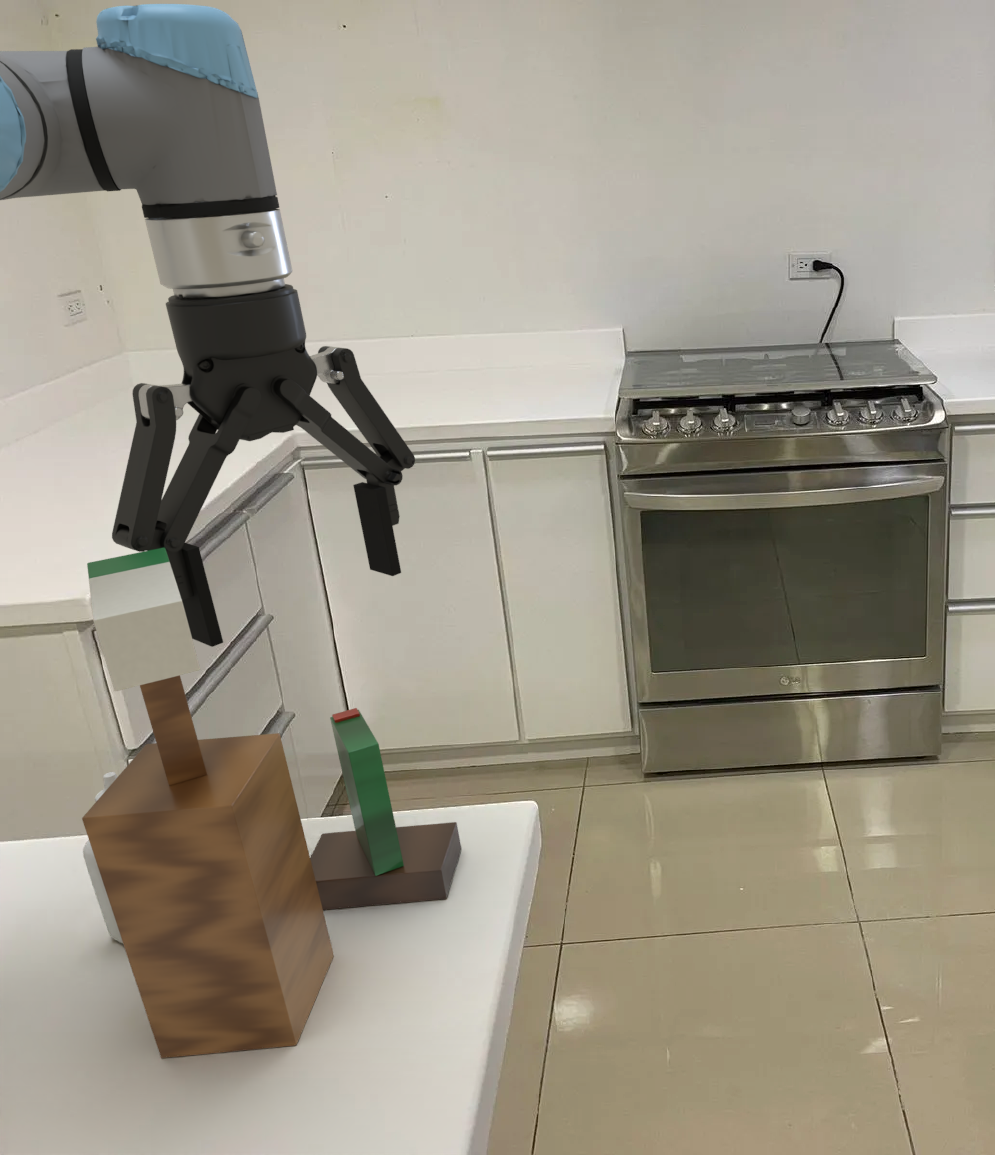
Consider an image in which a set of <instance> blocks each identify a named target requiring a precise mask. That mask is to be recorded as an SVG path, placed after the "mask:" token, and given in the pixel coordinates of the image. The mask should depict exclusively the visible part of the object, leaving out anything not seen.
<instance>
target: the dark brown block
mask: <svg viewBox="0 0 995 1155" xmlns="http://www.w3.org/2000/svg"><path fill="white" fill-rule="evenodd" d="M396 830H397V835H398V840H399V845H400V849H401V854H402V859H403V864H404V866H402V867H400V868H397V869H394V870H391V871H388V872H385V873H383V874H380V875H377V876H375V874H374V872H373V870H372V868H371V865H370V863H369V861H368V859H367V857H366V855H365V853H364V850H363V848H362V846H361V844H360V842H359V840H358V838H357V835H356V831H355V830H348V831H347V830H346V831H336V832H325V833H323V832H322V834H321V835H320V837H319V839H318V842H317V843H316V845H315V847H314V849H313V851H312V853H311V855H310V860H311V864H312V868H313V872H314V876H315V880H316V884H317V888H318V892H319V896H320V900H321V905H322V909H323V911H324V910H335V909H347V908H358V907H370V906H381V905H392V904H403V903H404V904H405V903H414V902H426V901H437V900H446V899H447V898H448V895H449V892H450V889H451V885H452V882H453V878H454V876H455V872H456V869H457V867H458V866H457V865H458V862H459V859H460V856H461V854H462V853H461V852H462V844H461V839H460V834H459V833H460V832H459V826H458V822H457V821H453V822H440V823H431V824H430V823H429V824H417V825H416V824H415V825H405V826H396Z"/></svg>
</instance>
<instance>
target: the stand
mask: <svg viewBox="0 0 995 1155" xmlns="http://www.w3.org/2000/svg"><path fill="white" fill-rule="evenodd" d="M139 688H140V692H141V695H142V699H143V703H144V705H145V708H146V712H147V715H148V720H149V723H150V726H151V729H152V732H153V737H154V739H155V742H154V743H146V744H145V745H144V746H143V747H142V748H141V749H140V750H139V752H138V753H136V755H135V756H134V757H133V759H132V760H131V761H130V762H129V763H128V765H127V766H126V767H125V768H123V770H122V771H121V773H120V774H119V775H117V778H116V779H115V781H114V782H113V783H112V784H111V785H110V786H109V788H108V789H107V790H106V791H105V792H104V793H103V794H102V796H101V797H100V798H99V799H98V800H97V801H96V802H94V804H93V805H92V806H91V807H90V808H89V809H88V810H87V812H86V813H85V814H84V815H83V816H82V817H81V821H82V823H83V827H84V829H85V832H86V835H87V838H88V840H89V841H90V844H91V848H92V851H93V854H94V857H95V860H96V863H97V866H98V869H99V872H100V875H101V878H102V881H103V884H104V887H105V890H106V893H107V896H108V899H109V902H110V905H111V908H112V911H113V914H114V917H115V920H116V923H117V926H118V929H119V932H120V935H121V938H122V941H123V943H122V944H123V947H124V950H125V953H126V957H127V959H128V962H129V966H130V969H131V972H132V975H133V977H134V981H135V984H136V987H137V990H138V993H139V996H140V999H141V1002H142V1005H143V1008H144V1011H145V1014H146V1017H147V1020H148V1023H149V1026H150V1029H151V1032H152V1035H153V1038H154V1041H155V1044H156V1047H157V1050H158V1053H159V1056H160V1058H161V1059H166V1058H167V1059H168V1058H177V1057H188V1056H198V1055H208V1054H218V1053H227V1052H228V1053H230V1052H239V1051H251V1050H261V1049H271V1048H281V1047H293V1046H294V1047H295V1046H297V1045H298V1043H299V1040H300V1038H301V1035H302V1032H303V1030H304V1028H305V1026H306V1024H307V1021H308V1018H309V1016H310V1014H311V1011H312V1009H313V1006H314V1005H315V1002H316V999H317V997H318V994H319V993H320V990H321V987H322V985H323V983H324V980H325V978H326V976H327V973H328V970H329V969H330V967H331V966H330V965H331V963H332V962H333V959H334V956H335V954H334V949H333V946H332V942H331V937H330V934H329V930H328V926H327V920H326V917H325V913H324V910H323V909H322V905H321V900H320V896H319V892H318V888H317V884H316V880H315V876H314V872H313V868H312V864H311V860H310V857H311V855H310V852H309V848H308V843H307V839H306V835H305V831H304V827H303V823H302V819H301V815H300V810H299V807H298V802H297V798H296V796H295V795H296V794H295V790H294V786H293V783H292V777H291V774H290V770H289V766H288V762H287V758H286V753H285V749H284V746H283V741H282V737H281V734H280V733H277V732H275V733H265V734H253V735H252V734H251V735H242V736H241V735H240V736H239V735H238V736H229V737H226V736H225V737H216V738H202V739H198V736H197V732H196V728H195V725H194V720H193V717H192V713H191V711H190V706H189V702H188V699H187V696H186V692H185V688H184V685H183V681H182V678H181V675H179V676H175V677H171V678H167V679H163V680H159V681H155V682H151V683H147V684H143V685H139Z"/></svg>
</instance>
